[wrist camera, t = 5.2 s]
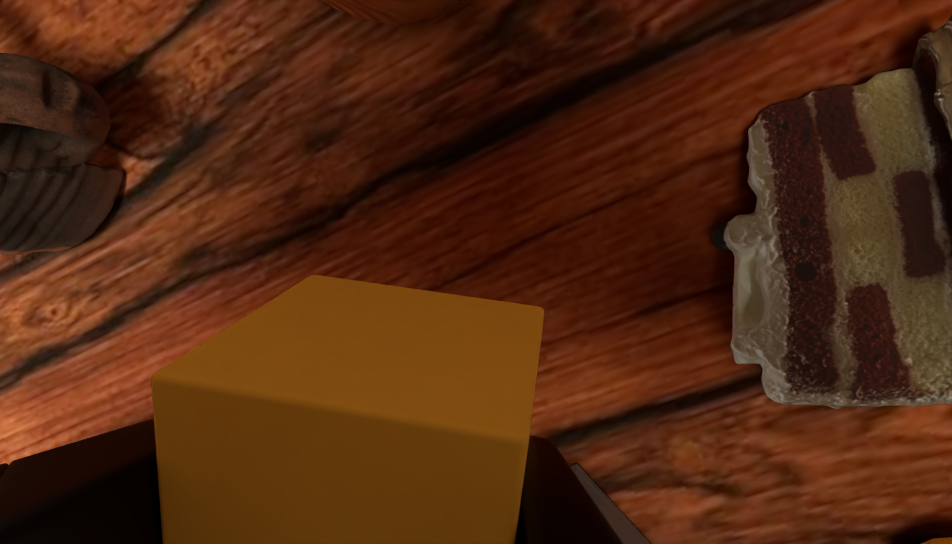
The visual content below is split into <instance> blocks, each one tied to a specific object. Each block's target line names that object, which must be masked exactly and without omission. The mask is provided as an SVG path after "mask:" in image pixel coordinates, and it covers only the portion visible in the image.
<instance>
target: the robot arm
mask: <svg viewBox="0 0 952 544" xmlns="http://www.w3.org/2000/svg"><path fill="white" fill-rule="evenodd" d="M0 544H163V542H162V527H161V513H160V499H159V484H158V470H157V455H156V441H155V427H154V419H150V420H147V421H144V422H140V423H137V424H134V425H130V426H127V427H124V428H120V429H117V430H114V431H110V432H107V433H104V434H101V435H97V436H94V437H91V438H87V439H84V440H81V441H77V442H74V443H71V444H67V445H64V446H61V447H57V448H54V449H51V450H48V451H44V452H41V453H38V454H34V455H31V456H28V457H24V458H21V459H18V460H14V461H12V462H11V463H10V465H8V464H6V463H4V464H1V465H0ZM515 544H623V542H622V541H621V539H620V538H619V537H618V535H617V534H616V532H615V531H614V529H613V528H612V527H611V525H610V524H609V522H608V521H607V519H606V518H605V516H604V515H603V514H602V512H601V511H600V509H599V508H598V506H597V505H596V503H595V502H594V501H593V499H592V498H591V496H590V495H589V493H588V492H587V491H586V489H585V488H584V486H583V485H582V483H581V482H580V480H579V479H578V478H577V476H576V475H575V473H574V472H573V470H572V469H571V467H570V466H569V465H568V463H567V462H566V460H565V459H564V457H563V456H562V455H561V453H560V452H559V450H558V449H557V447H556V446H555V444H554V443H553V442H552V441H551V440H550V439H548V438H542V437H536V436H529V444H528V452H527V459H526V466H525V473H524V480H523V488H522V495H521V502H520V509H519V516H518V523H517V531H516V538H515Z"/></svg>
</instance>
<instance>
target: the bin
mask: <svg viewBox="0 0 952 544" xmlns="http://www.w3.org/2000/svg"><path fill="white" fill-rule="evenodd" d="M571 469H572V470H573V472H574V473H575V475H576V476H577V478H578V479H579V480H580V482H581V483H582V485H583V486H584V488H585V489H586V491H587V492H588V493H589V495H590V496H591V498H592V499H593V501H594V502H595V503H596V505H597V506H598V508H599V509H600V511H601V512H602V514H603V515H604V516H605V518H606V519H607V521H608V522H609V524H610V525H611V527H612V528H613V529H614V531H615V532H616V534H617V535H618V537H619V538H620V539H621V541H622V542H623V544H650V543H649V541H648V540H647V539H646V538H645V537H644V536H643V535H642V534H641V533H640V532H639V531H638V529H637V528H636V527H635V526H634V525H633V524H632V523H631V522H630V521H629V520H628V519H627V517H626V516H625V515H624V514H623V513H622V512H621V511H620V510H619V509H618V508H617V507H616V505H615V504H614V503H613V502H612V501H611V500H610V499H609V498H608V497H607V496H606V495H605V493H604V492H603V491H602V490H601V489H600V488H599V487H598V486H597V485H596V484H595V483H594V481H593V480H592V479H591V478H590V477H589V476H588V475H587V474H586V473H585V472H584V471H583V469H582V468H581V467H580V466H579V465H578V464H575V465H573V466H572V467H571Z"/></svg>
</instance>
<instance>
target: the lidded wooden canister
mask: <svg viewBox="0 0 952 544" xmlns="http://www.w3.org/2000/svg"><path fill="white" fill-rule="evenodd" d="M315 1H317V2H320V3H322V4H324V5H327V6H329V7H331V8H334V9H336V10H338V11H341V12H343V13H346V14H348V15H351V16H353V17H355V18H358V19H362V20H366V21H370V22H374V23H384V24H406V23H412V22H418V21H423V20H426V19H429V18H432V17H435V16H438V15H441V14H443V13H445V12H447V11H448V10H450V9H452V8H454V7H456V6H458V5H459V4H461V3H462V2H463V1H465V0H315Z"/></svg>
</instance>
